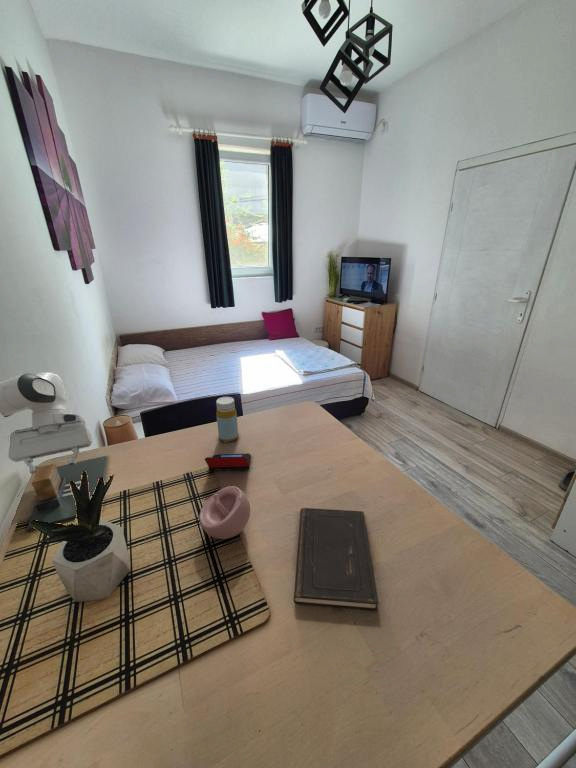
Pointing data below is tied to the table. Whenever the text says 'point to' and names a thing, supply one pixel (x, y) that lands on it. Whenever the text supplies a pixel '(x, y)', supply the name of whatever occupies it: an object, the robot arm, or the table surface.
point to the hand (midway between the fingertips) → (53, 468)
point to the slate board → (67, 506)
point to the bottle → (226, 419)
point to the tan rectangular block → (48, 487)
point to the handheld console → (228, 462)
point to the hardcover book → (334, 560)
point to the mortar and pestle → (225, 513)
